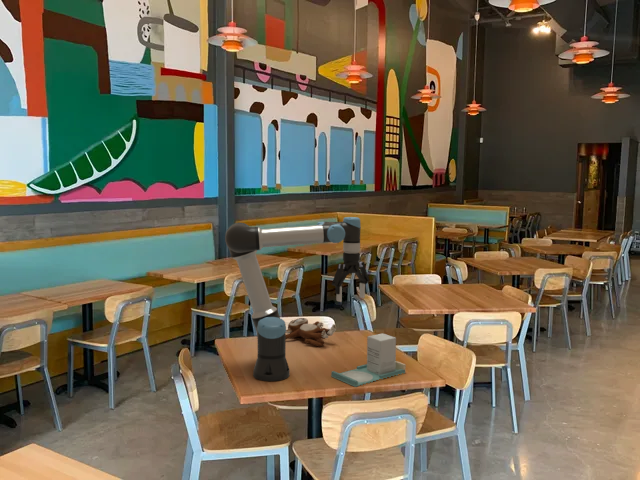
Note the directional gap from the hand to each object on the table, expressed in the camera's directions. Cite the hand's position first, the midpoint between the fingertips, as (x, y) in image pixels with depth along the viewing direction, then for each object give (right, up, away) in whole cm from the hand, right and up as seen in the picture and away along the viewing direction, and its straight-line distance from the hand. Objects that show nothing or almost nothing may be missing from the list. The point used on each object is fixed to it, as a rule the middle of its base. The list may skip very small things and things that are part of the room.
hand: (350, 299), depth 254 cm
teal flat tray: (+7, -30, -14) cm, 34 cm away
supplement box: (+12, -30, -10) cm, 34 cm away
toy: (-20, -25, +36) cm, 49 cm away
